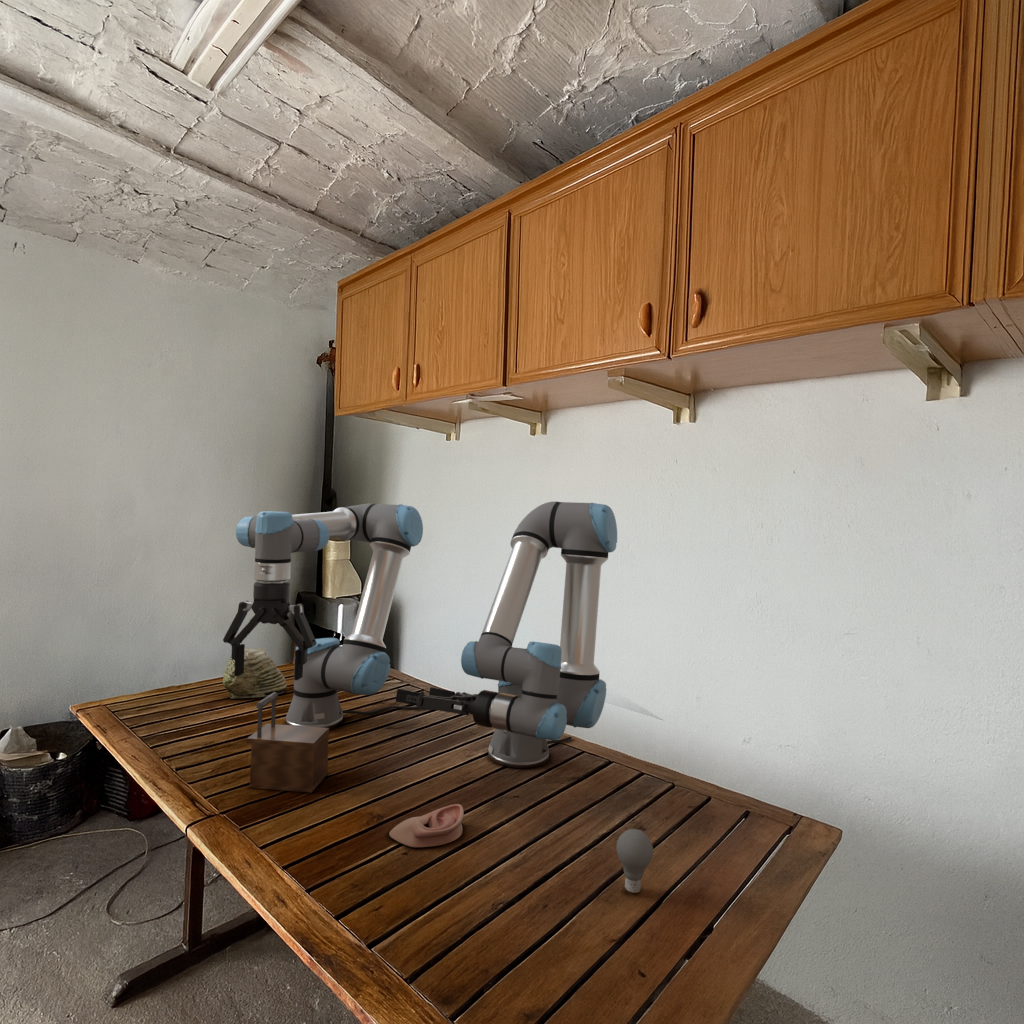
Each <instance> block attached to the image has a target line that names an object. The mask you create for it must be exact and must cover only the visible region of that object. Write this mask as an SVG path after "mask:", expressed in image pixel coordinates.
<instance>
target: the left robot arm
mask: <svg viewBox="0 0 1024 1024" xmlns="http://www.w3.org/2000/svg"><path fill="white" fill-rule="evenodd" d="M423 525H424V524H423V520H422V517H421V514H420V512H419V511H418V509H417V508H416V507H414V506H412V505H405V504H402V503H401V504H388V503H387V504H386V503H362V504H356V505H350V506H344V507H343V506H341V507H337V508H335V509H334V510H332V511H326V512H325V511H323V512H311V513H298V514H297V513H296V514H292V512H290V511H274V510H273V511H269V510H267V511H265V510H264V511H260V512H258V513H257V515H253V516H245V517H243V518H241V519H240V520H239V521H238V523H237V525H236V528H235V538H236V540H237V542H238V543H239V544H240V545H241V546H244V547H248V548H251V549H254V567H253V569H254V570H253V571H254V572H253V579H254V580H255V582H254V583H253V591H252V592H253V593H252V594H253V595H252V596H253V597H252V598H253V601H252V602H250V601H249V600H244V601H240V602H239V603H238V606H237V607H238V608H237V612H236V614H235V616H234V618H233V620H232V622H231V624H230V625H229V627H228V629H227V631H226V633H225V635H224V637H223V639H222V641H223V643H225V644H229V645H230V646H231V656H230V657H231V658H232V660H235V672H234V676H239V675H241V674H243V673H244V652H245V646H246V645H245V643H243V641H244V640H245V639H246V638H247V637H248V636H249V635H250V634H251V632H252V631H253V630H254V629H255V628H256V627H257V626H258V625H259V624H260V623H261V624H264V625H266V624H271V625H277V624H278V625H279V626H280V627H281V628H282V629H284V632H286V633H287V635H288V636H289V638H290V639H291V640H292V642H293V643H294V644H295V645H296V647H295V652H294V657H293V660H294V661H293V662H294V663H293V664H294V668H293V695H292V696H293V697H292V699H291V702H290V704H289V708H288V711H287V713H286V715H285V725H293V726H307V727H321V728H329V730H332V729H335V728H337V727H339V726H340V725H342V723H343V722H344V714H353V715H355V714H356V715H372V714H373V715H374V714H376V713H379V712H382V711H386V710H394V709H399V710H400V709H401V710H402V709H403V710H424V709H423V708H417V706H411V705H410V706H408V705H390V706H384V707H380V708H377V709H375V710H371V711H359V710H344V709H342V706H341V702H340V699H339V695H338V692H339V691H340V692H344V693H350V694H354V695H356V696H360V695H362V696H372V695H375V694H376V693H378V692H379V691H380V690H381V689H382V688H383V687H384V685H385V684H386V682H387V680H388V678H389V675H390V672H391V664H390V663H391V659H390V656H389V655H388V654H387V653H386V650H387V645H386V643H384V641H383V639H384V635H385V631H386V627H387V624H388V620H389V615H390V612H391V608H392V604H393V600H394V596H395V592H396V587H397V583H398V580H399V575H400V571H401V568H402V563H403V561H404V559H405V558H406V557H407V556H409V555H410V554H411V549H412V547H416V546H418V545H419V544H420V543H421V541H422V539H423V535H424V526H423ZM330 539H336V540H339V541H357V542H364V543H369V546H370V548H371V550H372V556H371V559H370V563H369V567H368V570H367V574H366V578H365V581H364V585H363V589H362V593H361V597H360V600H359V604H358V607H357V612H356V615H355V620H354V624H353V626H352V631H351V633H350V634H349V635H348V636H346V637H345V638H344V639H343V642H342V645H340V644H341V643H340V640H339V638H336V637H321V638H315V636H314V634H313V631H312V629H311V627H310V626H311V625H310V624H309V622H308V620H307V617H306V615H305V609H304V607H305V606H304V604H303V603H297V604H291V603H290V595H291V593H290V592H291V583H290V582H289V581H290V580H291V571H292V570H291V569H292V568H291V567H292V566H291V564H292V554H294V553H306V552H311V553H313V552H315V551H320V550H323V549H324V548H325V547H326V546H327V545H328V544H329V541H330ZM250 611H252V612H253V614H254V615H253V616H252V617H251V619H249V621H248V622H247V624H246V625H245V626H244V627H243V628H242V629H241V630H240V628H241V626H242V624H243V622H244V621H245V618H246V617H247V615H248V613H249V612H250ZM289 613H291V614H292V615H293V617H294V619H295V622H296V624H297V626H298V628H297V627H296V626H295V624H294V623H293V622H292V619H291V618H290V616H289V615H288V614H289ZM298 629H299V630H298ZM239 630H240V631H239ZM238 632H239V633H238ZM478 694H479V693H473V694H472V695H475V696H477V695H478Z"/></svg>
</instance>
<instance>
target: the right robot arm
mask: <svg viewBox="0 0 1024 1024" xmlns="http://www.w3.org/2000/svg"><path fill="white" fill-rule="evenodd" d="M617 544H618V526H617V520H616V516H615V513H614V511H613V509H612V508H611V506H609V505H607V504H604V503H596V502H574V501H573V502H571V501H570V502H569V501H568V502H567V501H556V500H555V501H554V500H553V501H548V502H544V503H542V504H540V505H538V506H536V507H535V508H533V509H532V510H531V511H529V512H528V514H527V515H525V517H523V519H522V520H521V521H520V522H519V524H518V525H517V527H516V529H515V530H514V532H513V535H512V536H511V539H510V548H511V552H510V554H509V557H508V560H507V562H506V566H505V568H504V571H503V574H502V576H501V579H500V581H499V585H498V588H497V591H496V593H495V596H494V598H493V601H492V604H491V607H490V609H489V612H488V615H487V618H486V620H485V624H484V625H483V629H482V631H481V634H480V636H479V639H478V641H477V640H474V641H468V642H467V643H466V645H465V646H464V647H463V650H462V653H461V658H460V666H461V669H462V671H463V673H464V674H466V675H467V676H472V677H475V678H479V679H481V680H483V679H485V680H492V681H498V683H497V691H492V690H487V689H483V690H481V691H479V692H478V693H477V694H478V695H477V696H475V695H473V694H471V693H468V692H466V691H463V692H460V691H453V690H448V689H442V688H438V687H431V686H430V687H429V693H428V694H425V691H424V690H421V691H420V692H418V691H414V690H413V691H412V690H409V689H408V690H407V689H402V688H397V689H396V696H395V703H396V702H397V703H400V704H405V705H410V706H414V707H417V708H423V709H422V710H431V711H439V712H446V713H452V714H457V715H463V716H470V715H472V719H473V722H474V724H475V725H477V726H479V727H485V728H489V729H491V728H493V729H494V731H493V734H492V736H491V740H490V742H489V744H488V748H487V750H488V752H487V753H488V755H487V756H488V758H489V759H490V760H491V761H492V762H494V763H496V764H497V765H500V766H503V767H507V768H514V769H529V768H537V767H539V766H542V765H544V764H546V763H547V762H548V761H549V759H550V749H549V745H550V744H551V745H552V744H561V743H564V742H567V741H570V740H572V736H566V737H563V735H564V733H565V730H566V727H567V726H571V727H573V728H581V729H591V728H593V727H595V725H596V724H597V723H598V721H599V720H600V717H601V716H602V712H603V710H604V706H605V701H606V698H607V682H605V680H603V679H600V672H601V671H600V669H598V668H597V665H596V664H595V655H596V642H597V628H598V627H597V626H598V616H599V615H598V613H599V598H600V590H601V589H600V587H601V575H602V573H601V572H602V566H603V565H604V564H605V563H606V562H607V561H608V559H609V553H610V554H611V553H614V552H615V551H616V549H617ZM551 548H555V549H560V557H562V559H563V560H564V561H565V578H564V589H563V602H562V614H561V615H562V617H561V627H560V641H559V644H555V643H549V642H548V643H547V642H542V641H541V642H539V641H529V642H528V643H527V646H526V648H523V647H515V646H513V643H514V641H515V638H516V635H517V632H518V628H519V626H520V623H521V621H522V618H523V614H524V611H525V609H526V606H527V602H528V601H529V600H528V599H529V597H530V593H531V590H532V588H533V585H534V582H535V579H536V576H537V572H538V570H539V567H540V564H541V562H542V560H543V559H544V558H546V557H547V555H548V553H549V550H550V549H551ZM562 737H563V738H562Z"/></svg>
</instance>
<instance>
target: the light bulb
mask: <svg viewBox="0 0 1024 1024" xmlns="http://www.w3.org/2000/svg"><path fill="white" fill-rule="evenodd" d="M615 849H616V854H617V857H618V859H619V861H620V863H621V865H622V867H623V873H624V874H623V875H624V876H625V878H624V888H625V890H627V891H628V892H630V893H634V894H635V893H639V892H640V891H641V889H642V887H641V886H642V879H643V877H644V875H645V871H646V868H647V867H648V866H649V864H650V863H651V861H652V859H653V855H654V847H653V843H652V841H651V838H649V836H648V835H647V834H646V833H645V832H643V831H642V830H641V829H636V828H629V829H627V830H625V831H623V832H622V833H621V834H620V835H619V837H618V839H617V841H616V847H615Z"/></svg>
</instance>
